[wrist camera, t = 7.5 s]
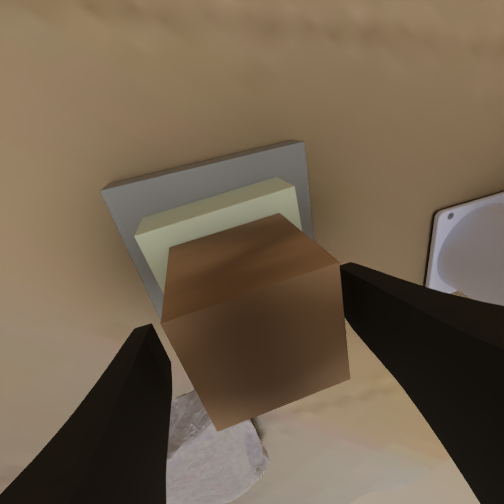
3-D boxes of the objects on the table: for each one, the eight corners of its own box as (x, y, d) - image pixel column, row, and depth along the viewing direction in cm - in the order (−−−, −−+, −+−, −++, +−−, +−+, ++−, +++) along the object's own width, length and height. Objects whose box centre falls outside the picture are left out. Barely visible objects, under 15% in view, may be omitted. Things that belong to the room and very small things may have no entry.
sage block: (276, 176, 14) (294, 186, 11) (297, 284, 17) (314, 308, 15) (142, 217, 13) (134, 236, 11) (191, 322, 16) (193, 352, 14)
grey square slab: (287, 139, 15) (304, 141, 13) (304, 279, 20) (319, 298, 18) (112, 181, 14) (99, 190, 12) (173, 320, 19) (172, 345, 16)
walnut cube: (279, 213, 12) (339, 261, 7) (296, 300, 14) (350, 378, 9) (169, 247, 11) (160, 323, 7) (205, 332, 13) (217, 432, 9)
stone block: (207, 358, 23) (104, 438, 21) (226, 404, 19) (99, 508, 17) (264, 417, 29) (187, 483, 27) (288, 461, 25) (198, 542, 23)
